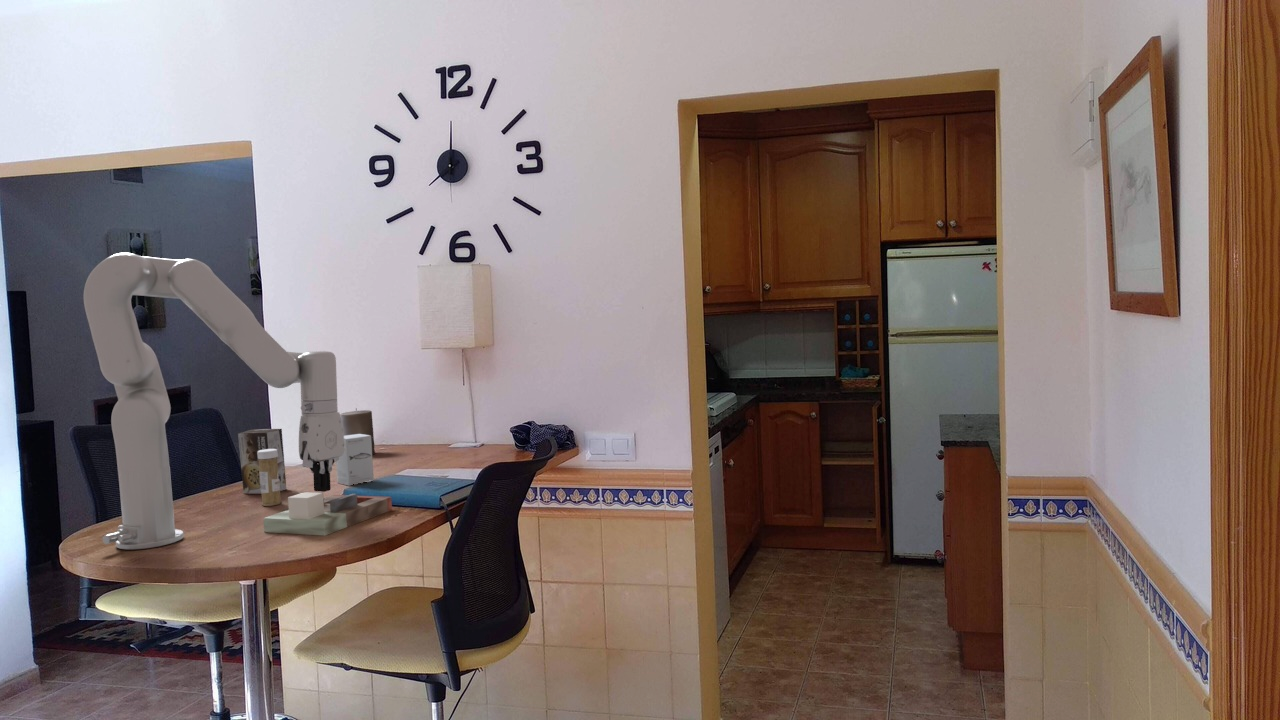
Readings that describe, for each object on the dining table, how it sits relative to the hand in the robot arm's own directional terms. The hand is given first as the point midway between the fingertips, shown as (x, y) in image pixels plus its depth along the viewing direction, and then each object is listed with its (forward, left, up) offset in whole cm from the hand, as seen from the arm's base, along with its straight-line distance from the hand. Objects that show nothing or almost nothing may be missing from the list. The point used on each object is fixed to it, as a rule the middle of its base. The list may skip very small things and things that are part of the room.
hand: (322, 490), depth 208 cm
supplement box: (+40, +22, -7) cm, 46 cm away
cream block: (-7, -1, -4) cm, 8 cm away
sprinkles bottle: (+13, +26, -7) cm, 30 cm away
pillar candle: (+79, +51, -7) cm, 94 cm away
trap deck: (+2, -1, -7) cm, 7 cm away
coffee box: (+26, +40, -7) cm, 48 cm away
